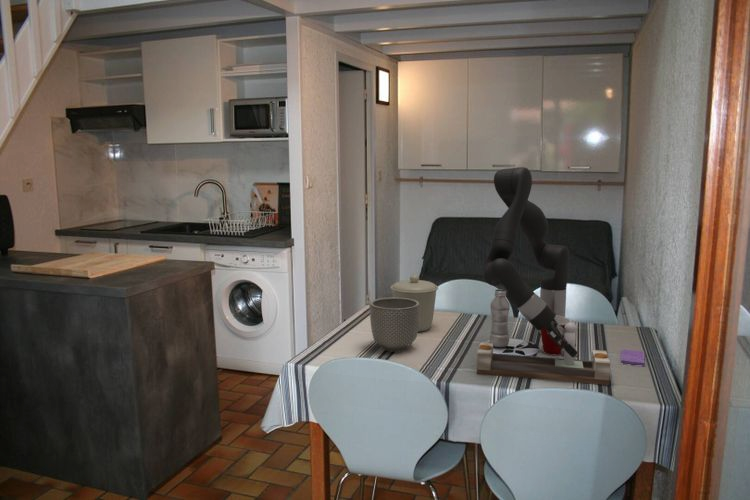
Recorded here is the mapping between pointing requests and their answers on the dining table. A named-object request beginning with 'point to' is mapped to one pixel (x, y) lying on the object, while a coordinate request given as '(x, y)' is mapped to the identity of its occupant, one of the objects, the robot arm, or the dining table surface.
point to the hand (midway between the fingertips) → (574, 351)
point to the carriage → (570, 337)
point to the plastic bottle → (499, 319)
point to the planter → (394, 322)
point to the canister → (418, 298)
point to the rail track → (542, 366)
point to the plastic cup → (547, 342)
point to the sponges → (632, 357)
